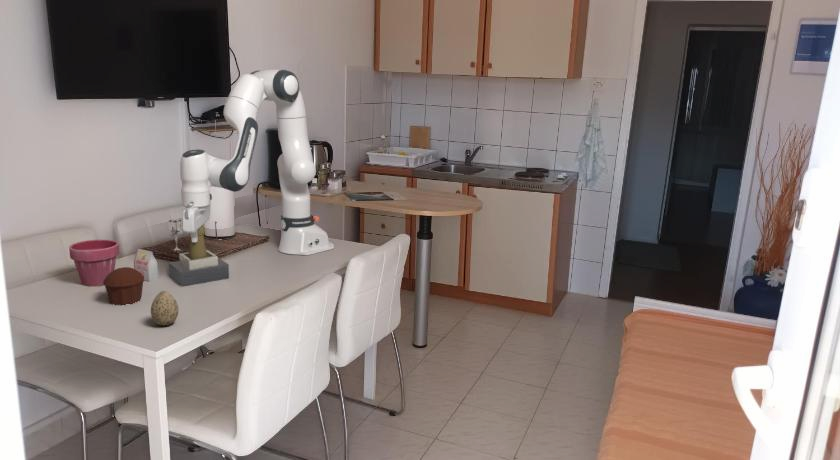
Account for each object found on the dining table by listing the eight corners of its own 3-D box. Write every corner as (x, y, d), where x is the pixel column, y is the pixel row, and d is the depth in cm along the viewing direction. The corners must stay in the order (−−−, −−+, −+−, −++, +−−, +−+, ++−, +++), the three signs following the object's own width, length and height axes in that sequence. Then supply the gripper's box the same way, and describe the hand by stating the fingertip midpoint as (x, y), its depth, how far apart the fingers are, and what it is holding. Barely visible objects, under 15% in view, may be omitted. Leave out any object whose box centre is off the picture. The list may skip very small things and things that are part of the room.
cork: (210, 255, 213) (209, 224, 210) (203, 260, 207) (201, 228, 204) (193, 254, 213) (191, 223, 210) (185, 259, 207) (183, 227, 205)
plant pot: (99, 272, 212) (96, 236, 209) (131, 278, 208) (128, 242, 205) (62, 284, 200) (58, 246, 196) (95, 291, 195) (91, 253, 192)
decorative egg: (152, 331, 168) (150, 296, 166) (151, 321, 175) (148, 288, 172) (180, 327, 171) (178, 293, 169) (178, 318, 178) (176, 285, 175)
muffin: (117, 292, 195) (115, 262, 192) (152, 294, 195) (150, 264, 192) (97, 306, 184) (94, 274, 181) (134, 308, 183) (131, 276, 181)
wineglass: (173, 248, 244) (172, 218, 241) (187, 249, 243) (186, 219, 240) (166, 252, 238) (164, 222, 235) (180, 253, 237) (178, 223, 234)
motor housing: (215, 268, 221) (214, 247, 219) (229, 278, 212) (228, 256, 210) (169, 276, 211) (168, 254, 209) (181, 286, 202) (180, 263, 200)
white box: (143, 275, 212) (141, 247, 209) (158, 279, 209) (156, 250, 206) (134, 278, 208) (132, 250, 206) (149, 282, 206) (147, 253, 203)
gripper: (196, 206, 195) (198, 248, 199) (213, 193, 215) (214, 232, 219) (176, 205, 195) (178, 247, 198) (194, 193, 215) (196, 231, 218)
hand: (197, 239), depth 209 cm, fingers closed on cork, 4 cm apart
